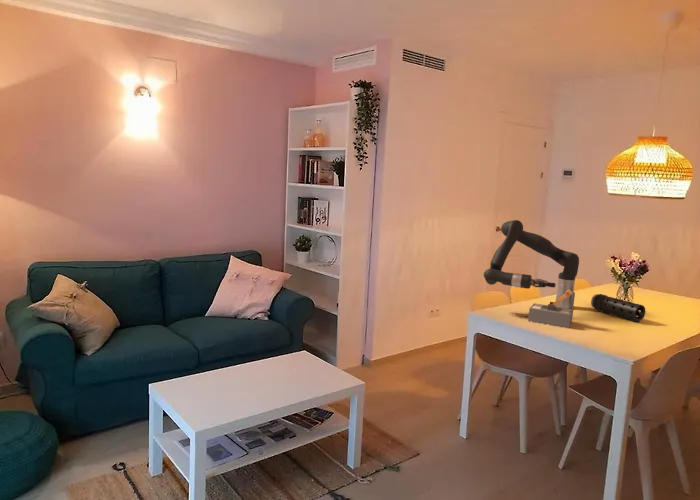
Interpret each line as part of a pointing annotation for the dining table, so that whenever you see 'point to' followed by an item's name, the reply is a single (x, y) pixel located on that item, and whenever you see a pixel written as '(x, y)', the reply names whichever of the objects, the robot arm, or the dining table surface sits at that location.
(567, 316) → the breaker housing
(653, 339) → the dining table surface
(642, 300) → the dining table surface
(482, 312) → the dining table surface
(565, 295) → the lever
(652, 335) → the dining table surface
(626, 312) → the muzzle brake
